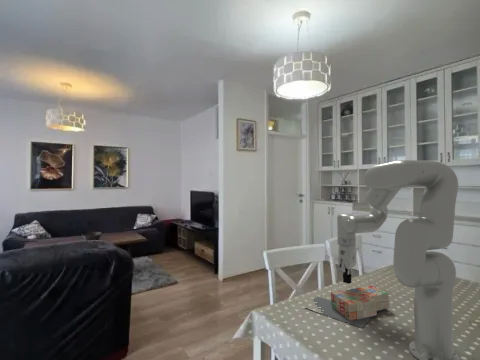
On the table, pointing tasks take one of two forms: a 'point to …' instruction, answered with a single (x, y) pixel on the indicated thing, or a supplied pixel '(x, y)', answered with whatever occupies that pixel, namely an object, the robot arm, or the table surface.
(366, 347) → the table surface
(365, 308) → the stack of blocks
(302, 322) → the table surface
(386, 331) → the table surface
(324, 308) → the mat
